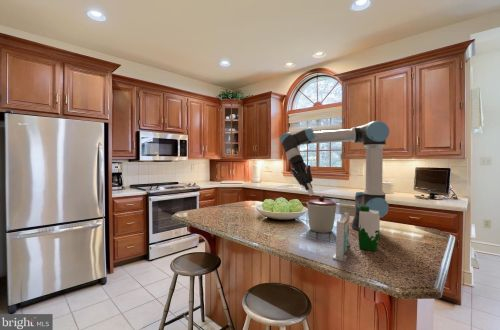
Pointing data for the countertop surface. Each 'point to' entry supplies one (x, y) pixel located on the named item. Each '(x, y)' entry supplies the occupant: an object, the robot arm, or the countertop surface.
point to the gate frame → (342, 239)
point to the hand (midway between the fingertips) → (312, 194)
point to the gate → (345, 223)
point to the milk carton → (368, 228)
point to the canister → (321, 215)
